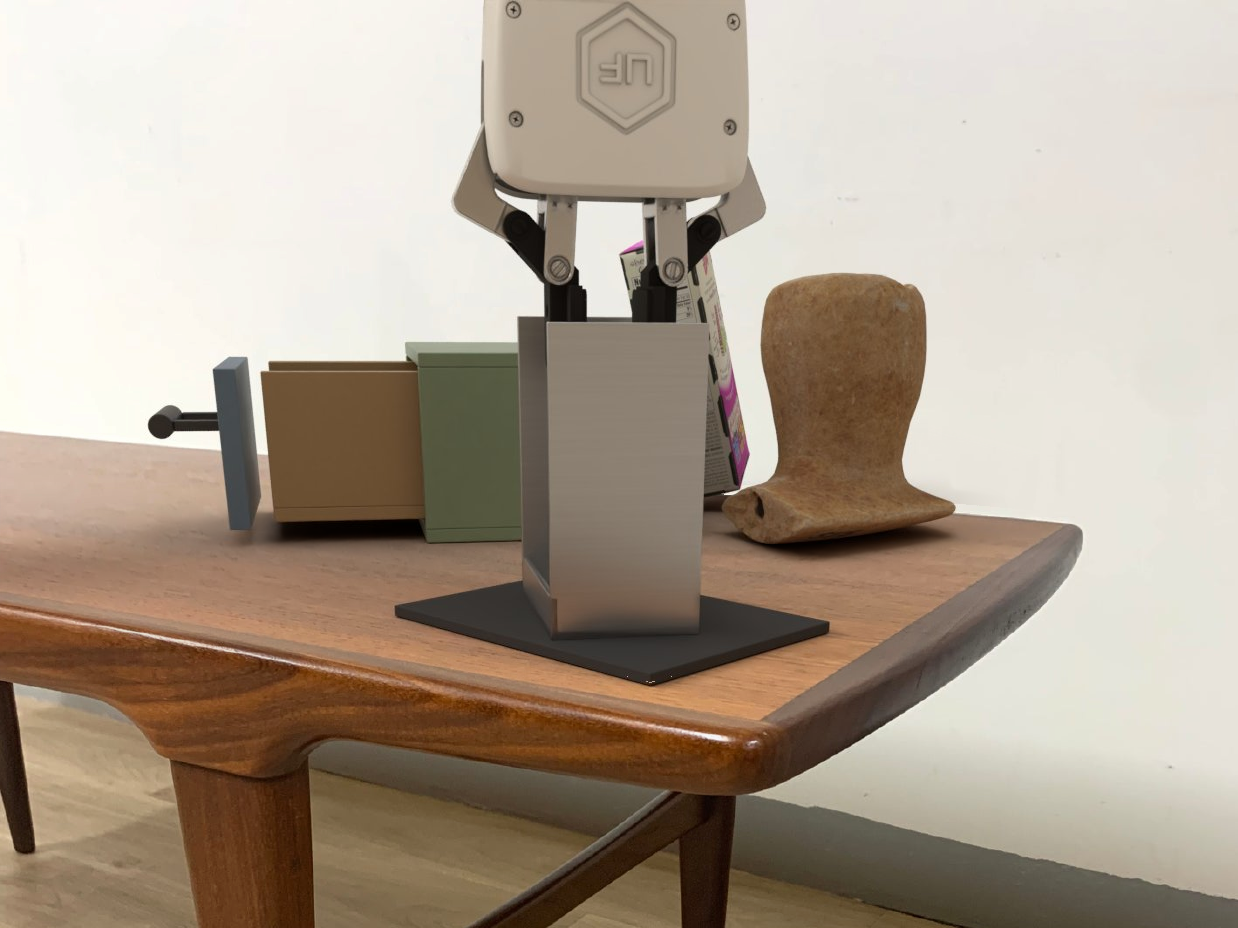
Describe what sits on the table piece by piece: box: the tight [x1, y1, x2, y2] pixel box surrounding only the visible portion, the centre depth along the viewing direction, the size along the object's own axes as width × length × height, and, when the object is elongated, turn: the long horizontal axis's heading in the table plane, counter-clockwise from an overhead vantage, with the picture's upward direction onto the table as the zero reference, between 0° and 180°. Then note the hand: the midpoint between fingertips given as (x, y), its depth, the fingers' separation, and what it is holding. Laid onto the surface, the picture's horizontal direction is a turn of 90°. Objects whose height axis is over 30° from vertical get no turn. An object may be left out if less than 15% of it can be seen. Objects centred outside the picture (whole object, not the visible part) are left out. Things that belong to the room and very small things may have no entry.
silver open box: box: [516, 315, 709, 640], centre depth 56 cm, size 6×9×12 cm
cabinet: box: [404, 341, 522, 544], centre depth 82 cm, size 16×14×11 cm
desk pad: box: [394, 579, 831, 686], centre depth 59 cm, size 16×12×1 cm
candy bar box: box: [618, 239, 751, 499], centre depth 89 cm, size 11×5×16 cm, turn 172°
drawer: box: [147, 356, 425, 531], centre depth 80 cm, size 19×12×9 cm, turn 102°
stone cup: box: [721, 272, 957, 545], centre depth 78 cm, size 15×12×15 cm
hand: (609, 383), depth 55 cm, fingers closed
